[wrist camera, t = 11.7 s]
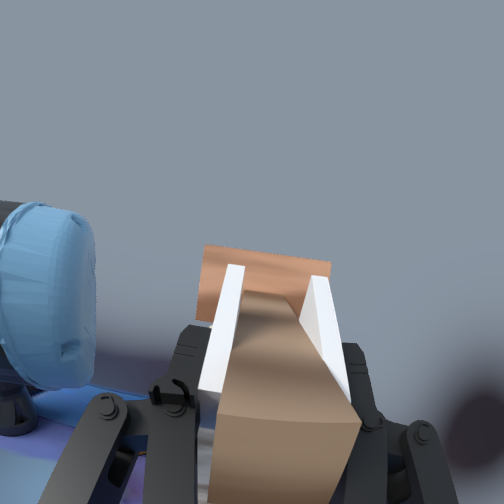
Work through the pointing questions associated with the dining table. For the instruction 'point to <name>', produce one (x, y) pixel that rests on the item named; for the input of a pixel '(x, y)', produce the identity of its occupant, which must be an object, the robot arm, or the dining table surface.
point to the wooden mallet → (274, 388)
